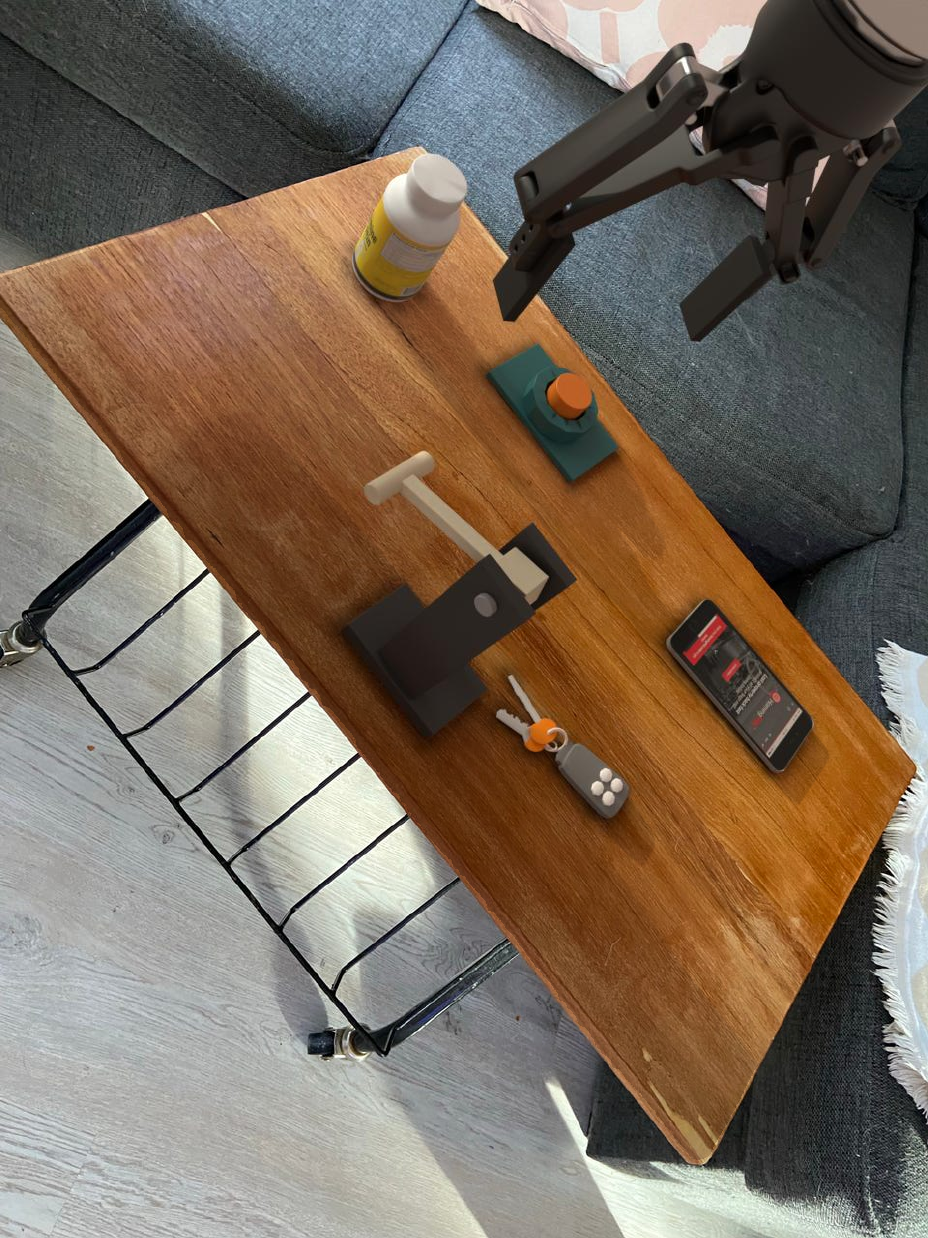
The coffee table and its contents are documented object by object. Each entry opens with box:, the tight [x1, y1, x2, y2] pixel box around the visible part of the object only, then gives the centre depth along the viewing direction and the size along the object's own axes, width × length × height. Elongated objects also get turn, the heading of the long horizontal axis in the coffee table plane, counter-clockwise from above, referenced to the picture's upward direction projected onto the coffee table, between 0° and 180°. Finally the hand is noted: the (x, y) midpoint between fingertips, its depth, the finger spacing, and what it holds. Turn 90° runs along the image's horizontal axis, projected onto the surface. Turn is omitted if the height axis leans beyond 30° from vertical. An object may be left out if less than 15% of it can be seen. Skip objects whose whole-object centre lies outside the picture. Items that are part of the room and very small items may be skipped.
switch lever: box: [363, 450, 549, 605], centre depth 60 cm, size 12×5×2 cm, turn 43°
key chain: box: [495, 674, 630, 820], centre depth 75 cm, size 13×4×2 cm, turn 53°
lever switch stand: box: [340, 522, 578, 741], centre depth 65 cm, size 10×6×18 cm, turn 43°
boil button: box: [547, 373, 592, 419], centre depth 85 cm, size 4×4×2 cm
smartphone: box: [666, 598, 815, 774], centre depth 85 cm, size 7×1×15 cm
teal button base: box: [485, 343, 620, 484], centre depth 86 cm, size 12×7×2 cm, turn 43°
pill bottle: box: [351, 153, 468, 303], centre depth 80 cm, size 6×6×12 cm
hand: (601, 313), depth 58 cm, fingers open, 13 cm apart
